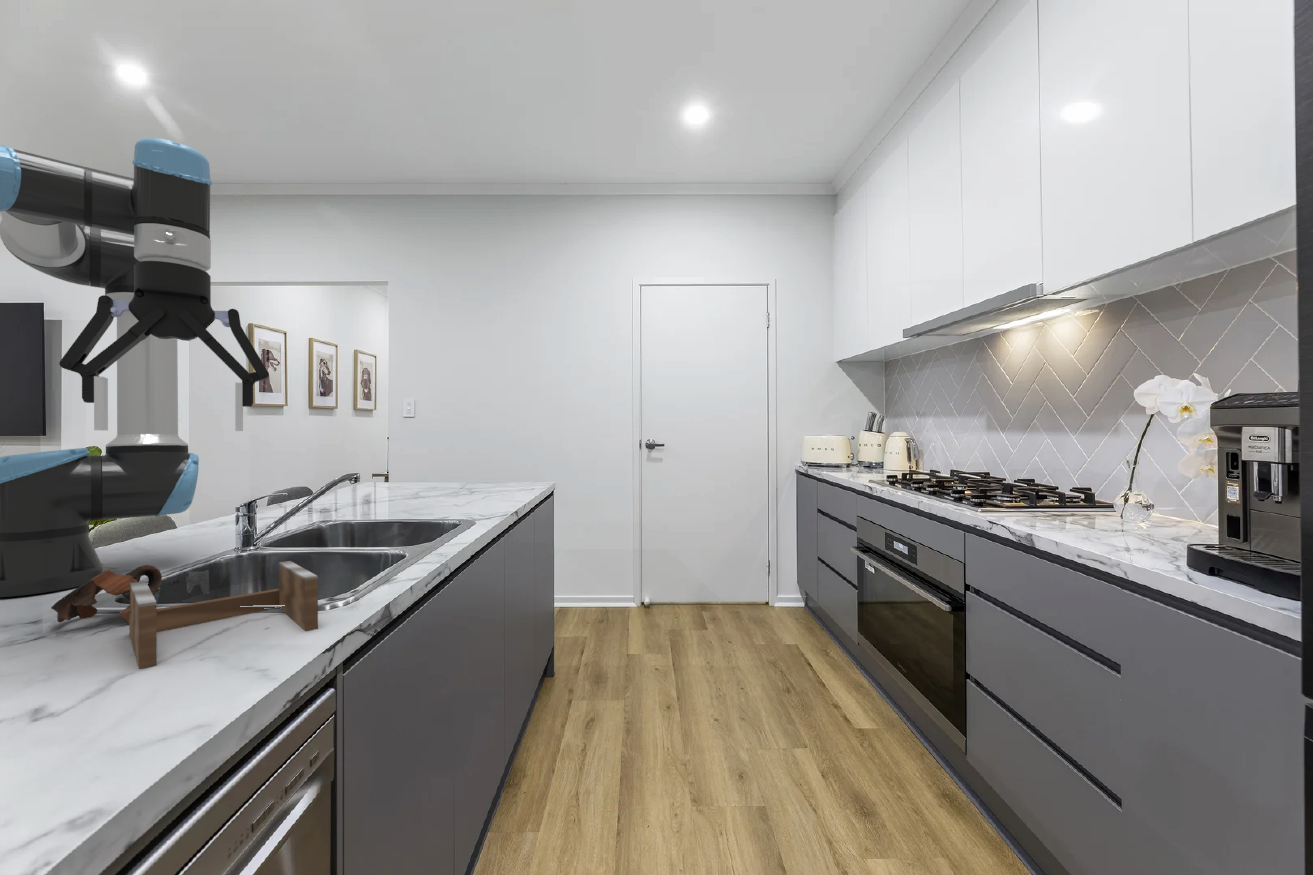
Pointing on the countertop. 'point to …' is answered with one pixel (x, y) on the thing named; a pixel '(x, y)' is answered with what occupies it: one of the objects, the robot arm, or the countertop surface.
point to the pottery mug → (112, 583)
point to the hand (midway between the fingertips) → (173, 431)
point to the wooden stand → (220, 609)
